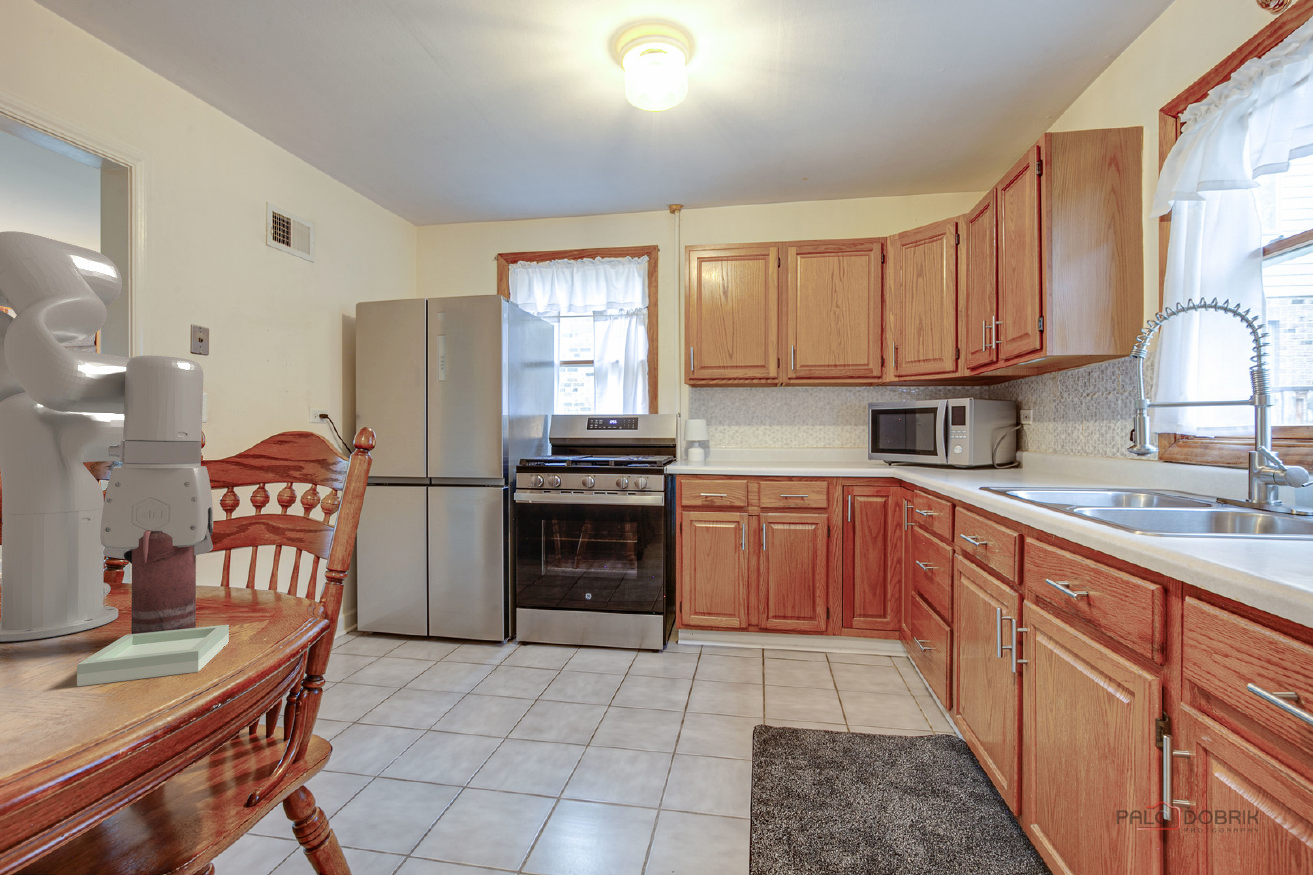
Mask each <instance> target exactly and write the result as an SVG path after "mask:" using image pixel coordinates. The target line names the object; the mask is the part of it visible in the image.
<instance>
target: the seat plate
mask: <svg viewBox="0 0 1313 875" xmlns="http://www.w3.org/2000/svg"><path fill="white" fill-rule="evenodd" d="M229 640H230V624H222V625H221V624H220V625H211V626H202V627H201V626H200V627H196V628H189V629H179V630H169V631H159V632H149V633H138V634H131V633H130V634H125V635H123V636H121V637H119V638H118V639H117V640H115V641H113V642H112V643H109V645H107V646H104V647H103V648H102V649H100V650H99V651H97V652H95V653H94V654H92V655H90V656H88V657H87V658H86V659H84V660H81V662H79V663H77V664H76V687H84V686H92V685H93V686H94V685H101V684H109V683H118V682H124V681H125V682H126V681H134V680H140V679H149V678H156V677H157V678H159V677H166V676H175V675H182V674H191V673H199V672H200V671H202V669H203V668H204V667H205V666H206V665H207V664H208V663H209V662H210V661H211V660H212V659H213V658H215V656H216V655H218V654H219V653H220V652H221V651H222V650H223V649H224V648H225V647H226V646H227V645H229V643H228V642H230V641H229ZM224 646H225V647H224ZM223 647H224V648H223Z"/></svg>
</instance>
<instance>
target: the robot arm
mask: <svg viewBox="0 0 1313 875" xmlns="http://www.w3.org/2000/svg"><path fill="white" fill-rule="evenodd" d="M122 288H123V278H122V275H121V273H120V270H119V268H118V266H116V264H115V262H114V261H112V260H111V259H110V258H109V257H107V256H106V255H104V254H103V253H101V252H99V251H96V250H92V249H89V248H86V247H82V246H79V245H75V244H72V243H67V242H63V241H60V240H57V239H52V238H49V237H46V236H45V237H44V236H41V235H38V234H34V233H29V232H24V231H16V230H15V231H12V230H11V231H8V230H6V231H0V307H3V308H9V309H11V310H13V312H14V313H15V315H16V316H15V317H14V316H12V315H10V314H8V313H7V312H6V311H3V310H2V309H0V478H1V522H2V523H1V589H0V590H1V595H0V596H1V597H0V598H1V599H0V601H1V603H0V604H1V605H0V607H1V608H0V609H1V610H0V642H18V641H20V642H21V641H29V640H39V639H45V638H51V637H58V636H63V635H68V634H73V633H78V632H83V631H86V630H90V629H94V628H97V627H100V626H103V625H106V624H109V623H111V622H114V621H115V620H116V619H118V617H119V609H118V608H117V607H116V606H115V607H114V606H110V605H109V606H108V605H104V597H105V596H107V595H108V594H109V593H110V592H111V586H110V584H109V583H107V582H104V565H105V564H104V563H105V560H104V557H109V558H113V559H114V558H115V559H120V560H121V559H123V560H126V561H127V562H129V563H130V564H131V565H132V549H136V548H137V547H138V545H139V539H140V538H141V537H143V535H144V532H145V531H147V530H150V531H162V532H163V533H167V534H168V535H170V536H171V537H172V540H173V546H176V547H189V546H193V545H195V546H193V556H195V555H196V556H199V555H203V554H206V553H209V552H211V551H212V550H213V549H214V545H213V541H212V535H213V532H214V506H213V504H214V503H213V494H212V486H211V482H210V481H211V480H210V475H209V472H208V469H207V466H202V464H201V462H202V437H203V436H202V435H203V434H202V433H203V432H202V431H203V402H204V370H203V368H202V366H201V365H200V364H199V363H198V362H197V361H195V360H192V359H189V358H188V359H187V358H183V357H175V356H167V355H165V356H164V355H137V356H134V357H130V356H128V357H127V356H123V355H117V354H115V355H114V354H109V353H107V354H106V353H101V352H93V351H86V350H78V349H73V348H72V349H71V348H66V347H65V346H63V345H67V344H71V343H75V342H79V341H82V340H84V339H87V338H89V337H92V336H93V335H95V334H96V333H97V332H99V331H100V330H101V329H102V327H103V326H104V324H106V321H107V317H108V310H107V307H109V306H111V305H112V304H114V302H116V301H117V300H118V299H119V297H120V295H121V293H122ZM91 462H93V463H94V462H120V463H122V465H120V466H113V467H112V469H111V473H110V475H109V480H108V483H107V486H106V492H105V496H104V491H103V489H102V486H101V484H100V483H99V481H98V480H97V479H96V477H94V475H93V474H92V473H91V472H90V470H89V469H88V468H87V467H86V466H85V465H84V463H91Z"/></svg>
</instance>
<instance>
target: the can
mask: <svg viewBox="0 0 1313 875" xmlns="http://www.w3.org/2000/svg"><path fill="white" fill-rule="evenodd" d="M193 546H195V545H193ZM193 546H189V547H176V546H173V540H172V537H171V536H170V535H168V534H167V533H163V532H162V531H150V530H147V531H145V532H144V535H143V537H141V538H140V539H139V545H138V547H137V548H136V549H132V564H131V618H130V619H131V632H130V634H138V633H149V632H159V631H169V630H179V629H189V628H197V627H196V618H197V617H196V616H197V615H196V612H197V611H196V610H197V609H196V607H197V604H196V603H197V602H196V601H197V600H196V598H197V597H196V596H197V593H196V592H197V591H196V590H197V582H196V581H197V580H196V579H197V578H196V577H197V571H196V570H197V566H196V565H197V555H195V556H193Z"/></svg>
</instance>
